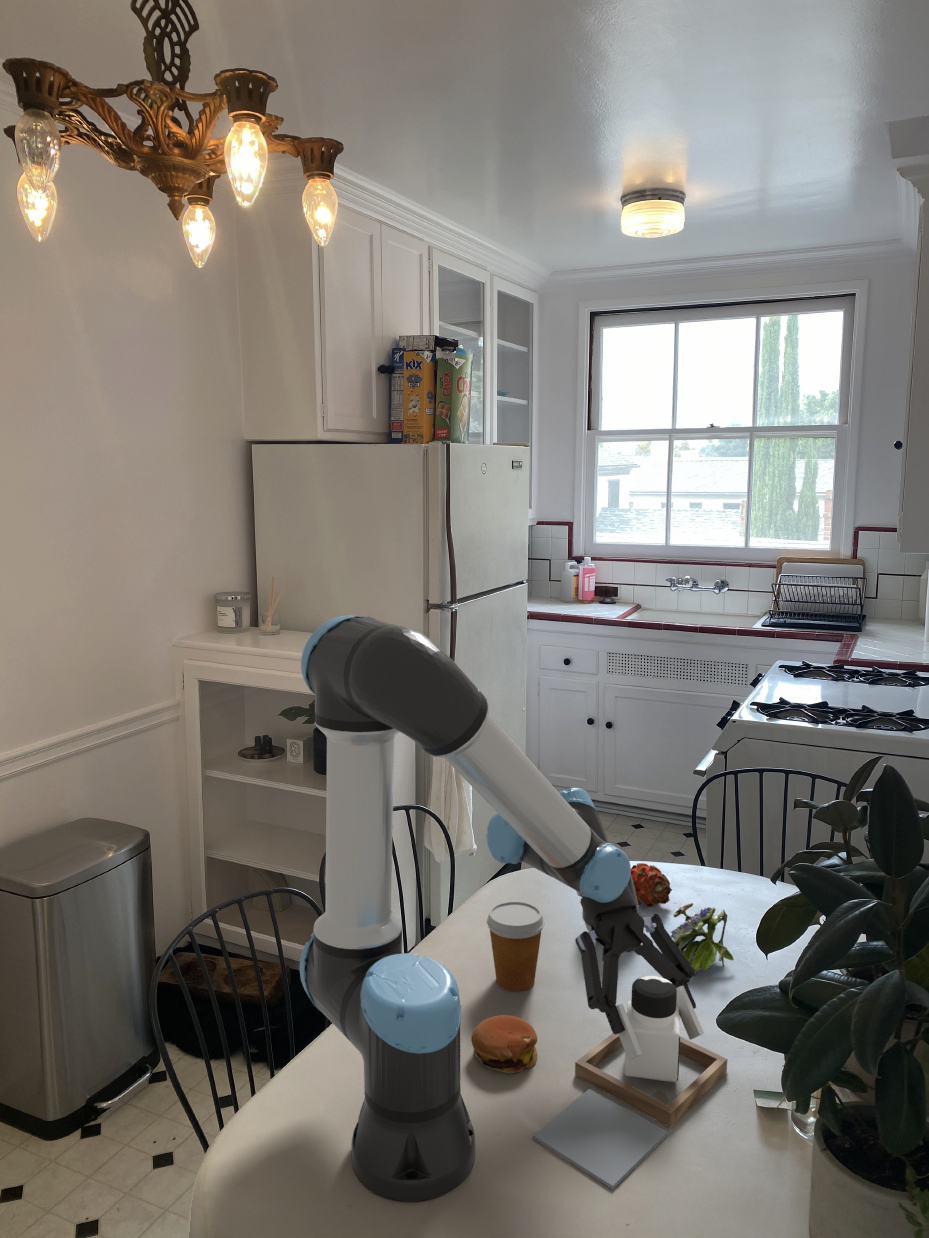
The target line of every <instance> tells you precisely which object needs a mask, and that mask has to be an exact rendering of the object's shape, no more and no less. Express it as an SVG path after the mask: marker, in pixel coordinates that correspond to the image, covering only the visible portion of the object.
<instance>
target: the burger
mask: <svg viewBox="0 0 929 1238" xmlns="http://www.w3.org/2000/svg"><path fill="white" fill-rule="evenodd" d="M470 1040H471V1045H472V1047H473V1051H474V1055H475V1056H476V1058H477V1060H478V1061H479V1062H480V1063H481V1064H482V1065H483V1066H484V1067H488V1068H489V1069H490V1070H493V1071H495V1072H501V1073H506V1074H512V1073H520V1072H521V1071H523V1070H524V1069H525V1068H527V1069H530V1068H533V1067H534V1066H536V1064H537V1061H538V1052H537V1048H536V1044H537V1043H538V1035H537V1032H536V1030H535V1029H534V1027H533V1026H532V1025H531V1024H530V1023H529V1022H528V1021H526V1020H525V1019H523V1018H521V1017H518V1016H515V1015H511V1014H510V1015H507V1014H501V1015H495V1016H490V1017H488V1018H485V1019H483V1020H482V1021H481V1022H479V1023H478V1024H477V1025H476V1027H475V1028H474V1029H473V1032H472V1035H471V1039H470Z"/></svg>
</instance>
